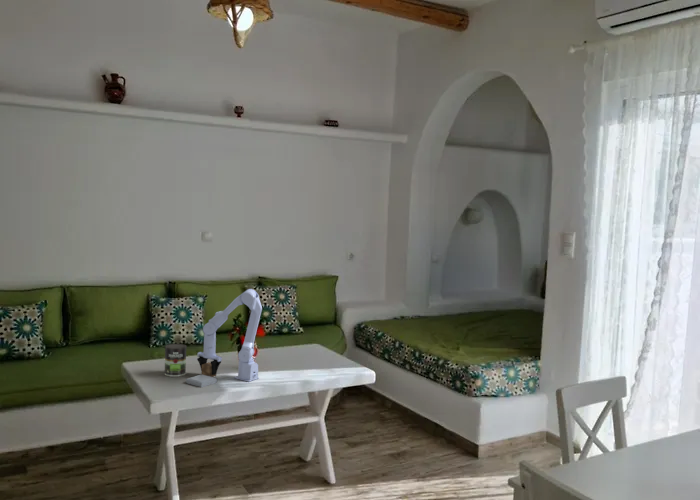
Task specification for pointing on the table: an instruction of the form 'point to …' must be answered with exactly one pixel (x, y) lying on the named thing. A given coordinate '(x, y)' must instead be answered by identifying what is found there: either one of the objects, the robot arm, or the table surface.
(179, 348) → the coffee can
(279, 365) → the table surface
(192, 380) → the pedestal
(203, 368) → the walnut block
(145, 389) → the table surface
